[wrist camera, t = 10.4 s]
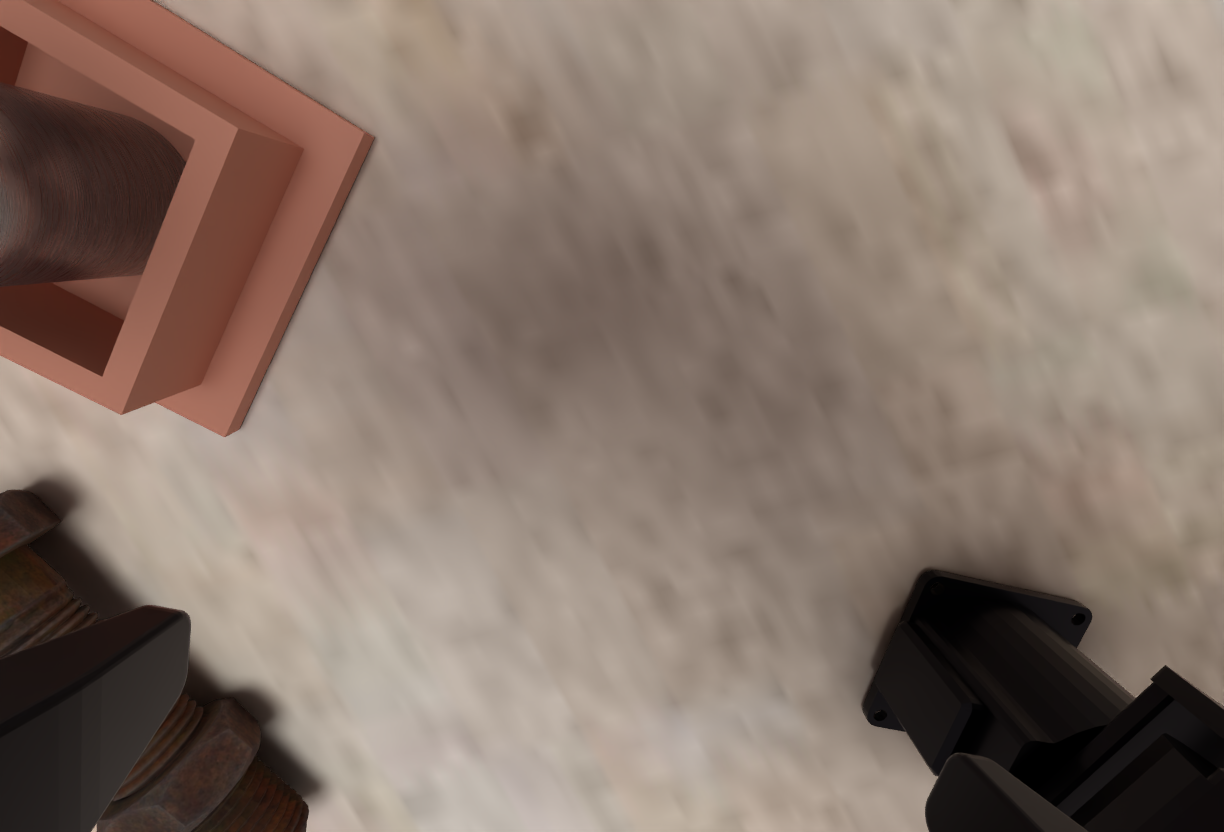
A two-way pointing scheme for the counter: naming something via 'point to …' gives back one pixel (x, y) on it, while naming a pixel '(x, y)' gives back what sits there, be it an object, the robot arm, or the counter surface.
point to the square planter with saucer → (180, 211)
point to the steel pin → (78, 189)
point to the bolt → (186, 740)
